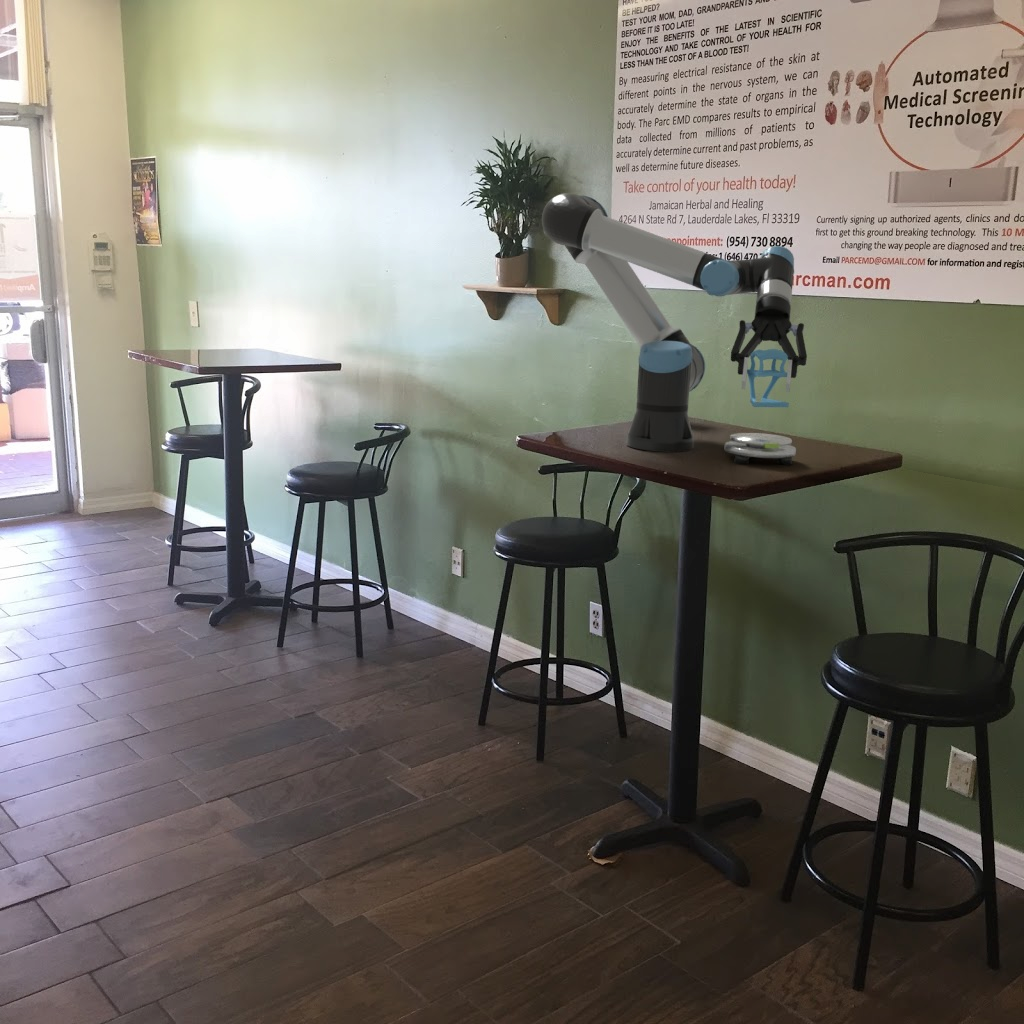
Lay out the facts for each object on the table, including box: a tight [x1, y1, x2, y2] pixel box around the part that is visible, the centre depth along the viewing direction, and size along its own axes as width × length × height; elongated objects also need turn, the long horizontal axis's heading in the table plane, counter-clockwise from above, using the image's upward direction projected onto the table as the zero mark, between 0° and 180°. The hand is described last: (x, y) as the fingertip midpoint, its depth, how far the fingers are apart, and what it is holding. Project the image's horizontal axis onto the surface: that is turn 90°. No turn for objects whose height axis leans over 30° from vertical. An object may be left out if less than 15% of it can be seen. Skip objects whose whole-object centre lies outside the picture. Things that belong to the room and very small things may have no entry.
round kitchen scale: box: [724, 432, 797, 466], centre depth 229 cm, size 15×15×5 cm
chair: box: [747, 348, 790, 408], centre depth 226 cm, size 8×8×12 cm
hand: (765, 386), depth 223 cm, fingers closed on chair, 8 cm apart
